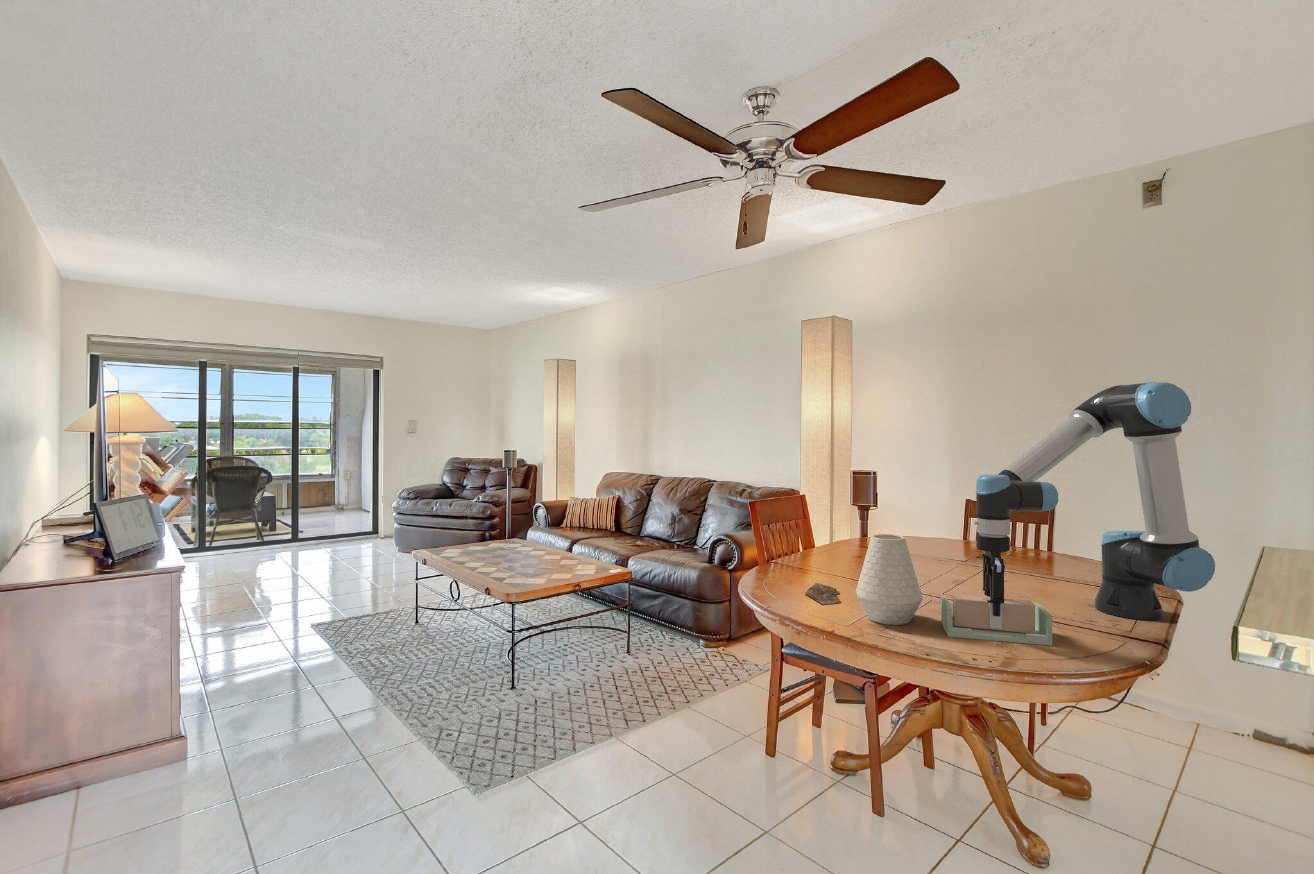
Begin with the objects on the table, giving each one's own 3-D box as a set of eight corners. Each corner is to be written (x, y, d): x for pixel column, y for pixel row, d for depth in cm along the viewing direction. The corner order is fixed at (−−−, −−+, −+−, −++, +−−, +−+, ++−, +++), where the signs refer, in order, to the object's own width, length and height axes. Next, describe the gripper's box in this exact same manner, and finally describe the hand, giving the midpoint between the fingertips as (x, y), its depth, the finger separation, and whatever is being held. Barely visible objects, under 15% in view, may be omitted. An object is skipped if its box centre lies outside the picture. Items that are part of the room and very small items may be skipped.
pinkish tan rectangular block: (1030, 627, 151) (1030, 600, 151) (1035, 633, 147) (1035, 605, 147) (952, 620, 157) (952, 594, 157) (955, 625, 153) (955, 599, 153)
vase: (876, 631, 155) (875, 544, 154) (844, 611, 172) (844, 532, 172) (936, 626, 157) (935, 541, 157) (899, 607, 175) (899, 530, 174)
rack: (1038, 630, 154) (1038, 602, 154) (1052, 645, 143) (1052, 616, 143) (941, 622, 161) (941, 596, 161) (947, 636, 150) (947, 608, 150)
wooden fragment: (842, 607, 177) (842, 603, 177) (804, 605, 179) (804, 601, 179) (837, 585, 202) (837, 582, 202) (804, 583, 204) (804, 580, 204)
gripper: (970, 528, 161) (970, 613, 161) (983, 540, 144) (984, 634, 145) (1001, 529, 159) (1001, 615, 159) (1018, 541, 142) (1019, 637, 142)
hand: (993, 624), depth 152 cm, fingers closed on pinkish tan rectangular block, 4 cm apart
